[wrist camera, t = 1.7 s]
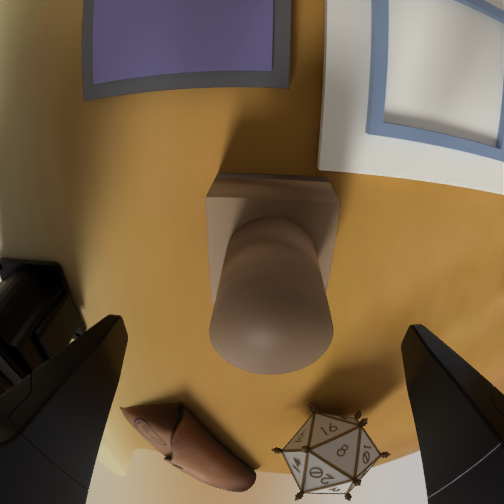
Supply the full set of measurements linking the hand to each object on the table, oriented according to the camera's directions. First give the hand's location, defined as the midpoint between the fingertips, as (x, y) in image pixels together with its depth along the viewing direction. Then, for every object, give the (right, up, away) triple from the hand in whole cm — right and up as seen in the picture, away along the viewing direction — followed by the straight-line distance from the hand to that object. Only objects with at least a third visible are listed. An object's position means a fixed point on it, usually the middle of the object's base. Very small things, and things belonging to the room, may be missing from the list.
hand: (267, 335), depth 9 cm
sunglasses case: (-7, -18, +20) cm, 28 cm away
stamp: (0, +4, +6) cm, 8 cm away
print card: (+9, +11, +1) cm, 14 cm away
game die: (+6, -12, +16) cm, 20 cm away
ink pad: (-3, +13, +1) cm, 14 cm away
